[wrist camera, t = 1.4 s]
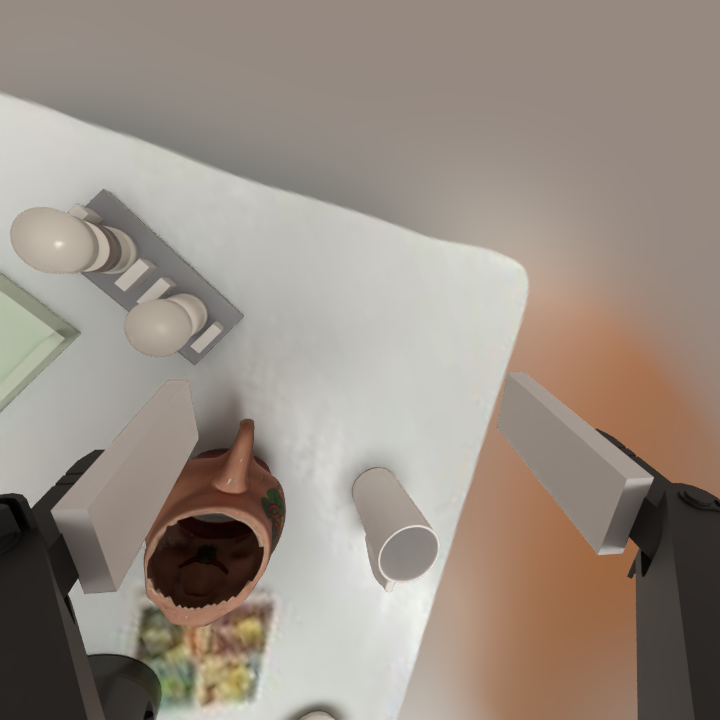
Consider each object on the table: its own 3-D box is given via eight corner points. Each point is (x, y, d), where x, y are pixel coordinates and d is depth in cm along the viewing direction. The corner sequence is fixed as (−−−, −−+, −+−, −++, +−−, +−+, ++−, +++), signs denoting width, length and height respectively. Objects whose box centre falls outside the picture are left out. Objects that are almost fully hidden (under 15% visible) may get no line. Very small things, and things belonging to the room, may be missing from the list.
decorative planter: (183, 380, 39) (144, 435, 26) (296, 396, 42) (312, 451, 29) (158, 544, 42) (111, 666, 29) (265, 546, 46) (266, 655, 32)
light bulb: (118, 283, 34) (56, 286, 23) (79, 249, 32) (-6, 238, 22) (149, 252, 34) (100, 243, 24) (111, 218, 33) (41, 192, 22)
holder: (197, 362, 39) (168, 400, 27) (55, 245, 33) (-59, 229, 21) (243, 315, 39) (235, 333, 27) (110, 192, 33) (27, 147, 22)
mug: (359, 461, 46) (391, 521, 35) (405, 469, 48) (449, 529, 37) (335, 529, 48) (358, 608, 36) (381, 535, 50) (416, 611, 39)
